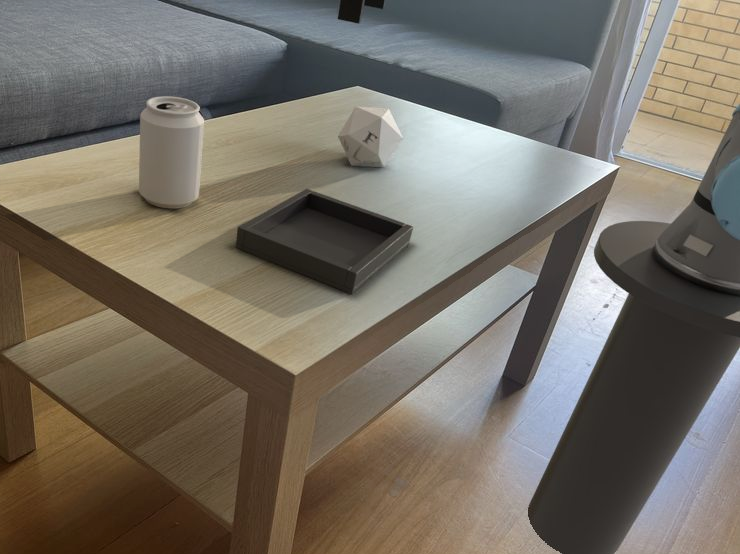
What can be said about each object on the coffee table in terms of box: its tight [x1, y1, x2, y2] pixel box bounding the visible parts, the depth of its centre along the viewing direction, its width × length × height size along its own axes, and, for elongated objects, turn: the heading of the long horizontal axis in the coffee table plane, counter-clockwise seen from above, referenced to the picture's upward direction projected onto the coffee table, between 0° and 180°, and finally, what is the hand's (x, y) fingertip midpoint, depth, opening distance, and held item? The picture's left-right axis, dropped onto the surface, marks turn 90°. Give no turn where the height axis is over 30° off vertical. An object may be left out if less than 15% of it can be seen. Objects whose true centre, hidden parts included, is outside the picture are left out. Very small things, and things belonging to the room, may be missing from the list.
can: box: [138, 95, 205, 210], centre depth 88 cm, size 8×8×12 cm
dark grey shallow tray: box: [235, 188, 414, 295], centre depth 85 cm, size 15×16×3 cm
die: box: [337, 105, 404, 168], centre depth 109 cm, size 8×9×10 cm
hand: (362, 14), depth 93 cm, fingers open, 13 cm apart
